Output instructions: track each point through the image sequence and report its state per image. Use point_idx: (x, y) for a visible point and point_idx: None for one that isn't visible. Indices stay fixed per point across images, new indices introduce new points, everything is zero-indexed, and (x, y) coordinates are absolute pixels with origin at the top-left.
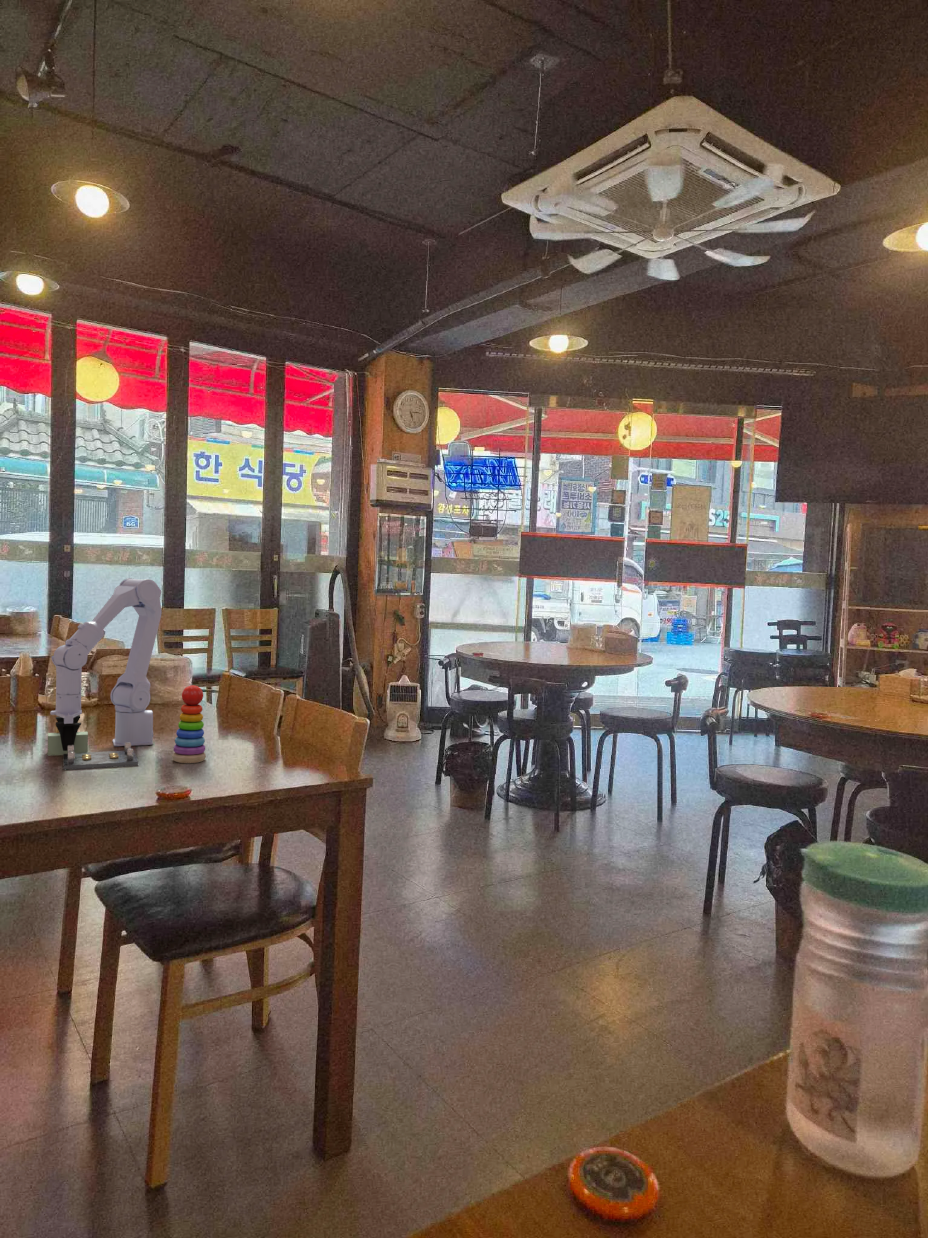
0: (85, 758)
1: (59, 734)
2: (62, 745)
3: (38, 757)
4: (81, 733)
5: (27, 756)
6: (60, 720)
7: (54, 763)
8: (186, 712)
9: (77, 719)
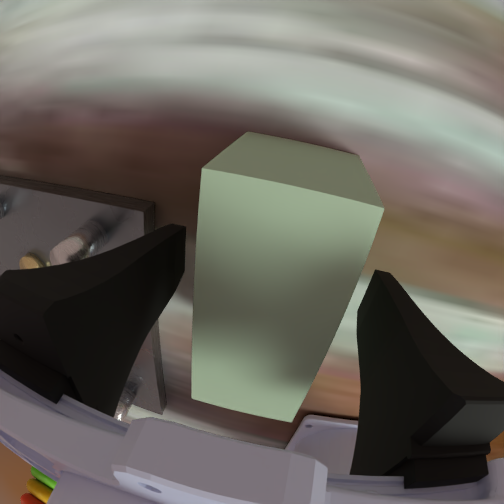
0: (19, 263)
1: (253, 280)
2: (147, 234)
3: (217, 74)
4: (239, 391)
5: (278, 16)
6: (425, 405)
7: (58, 147)
8: (25, 494)
9: (354, 474)
